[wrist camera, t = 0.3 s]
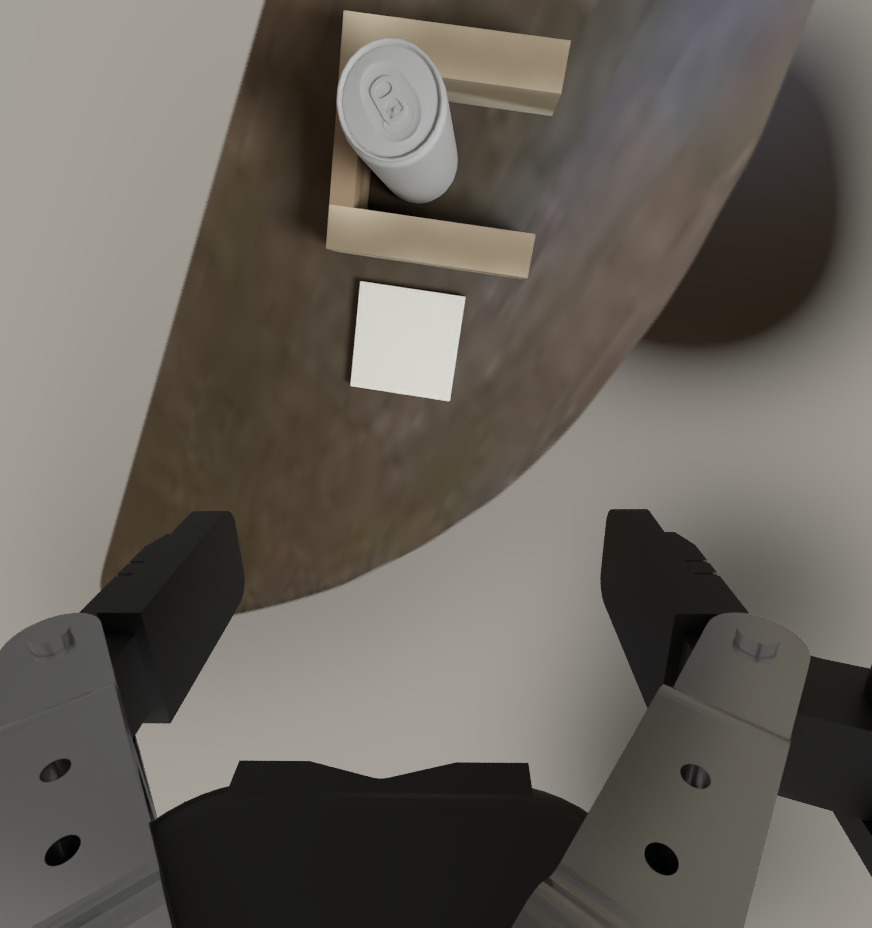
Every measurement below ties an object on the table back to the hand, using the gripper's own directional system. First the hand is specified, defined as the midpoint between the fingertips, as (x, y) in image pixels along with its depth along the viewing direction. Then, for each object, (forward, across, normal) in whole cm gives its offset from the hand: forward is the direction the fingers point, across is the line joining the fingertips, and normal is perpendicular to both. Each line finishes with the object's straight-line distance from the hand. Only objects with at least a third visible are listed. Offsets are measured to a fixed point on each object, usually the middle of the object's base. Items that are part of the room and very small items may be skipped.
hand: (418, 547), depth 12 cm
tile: (+28, +2, 0) cm, 28 cm away
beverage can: (+29, +1, -10) cm, 31 cm away
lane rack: (+29, 0, -10) cm, 30 cm away
